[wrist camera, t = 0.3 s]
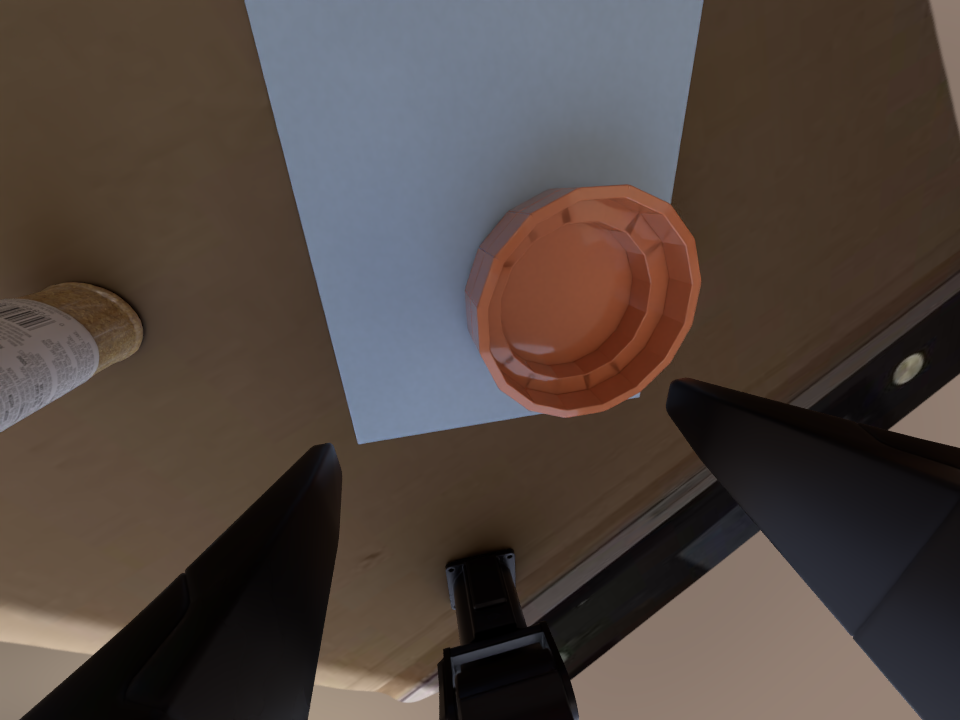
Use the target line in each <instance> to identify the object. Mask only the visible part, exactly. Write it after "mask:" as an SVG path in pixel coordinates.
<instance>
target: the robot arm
mask: <svg viewBox="0 0 960 720" xmlns="http://www.w3.org/2000/svg"><path fill="white" fill-rule="evenodd" d="M666 410H667V412H668V414H669V416H670V417H671V419H672V420H673V422H674V423H675V424H676V426H677V427H678V429H679V430H680V431H681V433H682V434H683V436H684V437H685V439H686V440H687V441H688V443H689V444H690V446H691V447H692V449H693V450H694V451H695V453H696V454H697V455H698V457H699V458H700V459H701V461H702V462H703V463H704V464H705V465H706V467H707V468H708V469H709V470H710V471H711V473H712V474H713V475H714V476H715V477H716V478H717V480H718V481H719V482H720V483H721V484H722V485H723V487H724V488H725V489H726V490H727V491H728V492H729V494H730V495H731V496H732V497H733V498H734V499H735V501H736V502H737V503H738V504H739V505H740V506H741V508H742V509H743V510H744V511H745V512H746V513H747V515H748V516H749V517H750V518H751V519H752V521H753V522H754V523H755V524H756V525H757V526H758V528H759V529H760V530H761V531H762V532H763V533H764V535H765V536H766V537H767V538H768V539H769V540H770V541H771V543H772V544H773V545H774V546H775V547H776V549H777V550H778V551H779V552H780V553H781V554H782V556H783V557H784V558H785V559H786V560H787V561H788V563H789V564H790V565H791V566H792V567H793V568H794V570H795V571H796V572H797V573H798V574H799V575H800V577H801V578H802V579H803V580H804V581H805V583H807V585H808V586H809V587H810V588H811V590H812V591H813V592H814V593H815V594H816V595H817V596H818V598H819V599H820V600H821V601H822V602H823V603H824V605H825V606H826V607H827V608H828V609H829V610H830V612H831V613H832V614H833V615H834V616H835V618H836V619H837V620H838V621H839V622H840V623H841V625H842V626H843V627H844V628H845V629H846V630H847V632H848V633H849V634H850V635H851V636H853V639H854V640H855V641H856V643H857V644H858V645H859V646H860V647H861V649H862V650H863V651H864V652H865V653H866V654H867V656H868V657H869V658H870V659H871V660H872V661H873V663H874V664H875V665H876V666H877V667H878V668H879V670H880V671H881V672H882V673H883V674H884V675H885V677H886V678H887V679H888V680H889V681H890V683H891V684H892V685H893V686H894V687H895V688H896V690H897V691H898V692H899V693H900V694H901V695H902V696H903V698H904V699H905V700H906V701H907V702H908V704H909V705H910V706H911V707H912V708H913V709H914V711H915V712H916V713H917V714H918V715H919V717H920V718H921V719H922V720H960V448H957V447H953V446H949V445H945V444H941V443H936V442H932V441H928V440H924V439H920V438H915V437H912V436H908V435H904V434H900V433H896V432H892V431H888V430H884V429H880V428H876V427H873V426H869V425H865V424H861V423H858V424H857V423H856V422H853V421H850V420H846V419H842V418H838V417H835V416H831V415H827V414H823V413H819V412H816V411H812V410H808V409H804V408H801V407H797V406H793V405H789V404H785V403H782V402H778V401H774V400H770V399H766V398H763V397H759V396H755V395H751V394H748V393H744V392H740V391H736V390H732V389H729V388H725V387H721V386H717V385H714V384H710V383H706V382H702V381H698V380H695V379H691V378H682V379H677V380H674V381H672V382H671V384H670V387H669V392H668V397H667V402H666ZM341 491H342V471H341V467H340V464H339V461H338V458H337V455H336V452H335V449H334V446H333V445H332V444H331V443H325V444H320V445H315V446H313V447H311V448H310V449H309V450H308V451H307V452H306V453H305V454H304V455H303V456H302V457H301V458H300V459H299V460H298V461H297V462H296V463H295V464H294V465H293V466H292V467H291V468H290V469H289V470H288V471H286V472H285V473H284V474H283V475H282V476H281V477H280V478H279V479H278V480H277V481H276V482H275V483H274V484H273V485H272V486H271V487H270V488H269V489H268V490H267V491H266V492H265V493H264V494H263V495H262V496H261V497H260V498H259V499H258V500H257V501H256V502H255V503H254V504H252V505H251V506H250V507H249V508H248V509H247V510H246V511H245V512H244V513H243V514H242V515H241V516H240V517H239V518H238V519H237V520H236V521H235V522H234V523H233V524H232V525H231V526H230V527H229V528H228V529H227V530H226V531H225V532H224V533H223V534H222V535H221V536H220V537H218V538H217V539H216V540H215V541H214V542H213V543H212V544H211V545H210V546H209V547H208V548H207V549H206V550H205V551H204V552H203V553H202V554H201V555H200V556H199V557H198V558H197V559H196V560H195V561H194V562H193V563H192V564H191V565H190V566H189V567H188V568H186V570H185V573H182V574H180V575H179V576H178V577H177V578H176V579H175V580H174V581H173V582H172V583H171V584H170V585H169V586H168V587H167V588H166V589H165V590H164V591H163V592H162V593H161V594H159V595H158V596H157V597H156V598H155V599H154V600H153V601H152V602H151V603H150V604H149V605H148V606H147V607H146V608H145V609H144V610H142V611H141V612H140V613H139V614H138V615H137V616H136V617H135V618H134V619H133V620H132V621H131V622H130V623H129V624H128V625H126V626H125V627H124V628H123V629H122V630H121V631H120V632H119V633H117V634H116V635H115V636H114V637H113V638H112V639H111V640H110V641H109V642H107V643H106V644H105V645H104V646H103V647H102V648H101V649H100V650H98V651H97V652H96V653H95V654H94V655H93V656H92V657H91V658H89V659H88V660H87V661H86V662H85V663H84V664H83V665H82V666H80V667H79V668H78V669H77V670H76V671H75V672H74V673H72V674H71V675H70V676H69V677H68V678H67V679H66V680H64V681H63V682H62V683H61V684H60V685H59V686H58V687H56V688H55V689H54V690H53V691H52V692H51V693H49V694H48V695H47V696H46V697H45V698H44V699H43V700H41V701H40V702H39V703H38V704H37V705H36V706H35V707H34V708H32V709H31V710H30V711H29V712H28V713H27V714H25V715H24V716H23V717H22V718H21V719H20V720H308V715H309V709H310V703H311V697H312V692H313V686H314V680H315V674H316V669H317V663H318V657H319V651H320V646H321V640H322V634H323V628H324V622H325V617H326V611H327V605H328V599H329V594H330V588H331V582H332V576H333V571H334V565H335V559H336V553H337V547H338V540H339V529H340V510H341ZM446 575H447V581H448V588H449V595H450V601H451V608H452V609H453V610H456V615H457V623H458V630H459V637H460V645H461V646H457V647H454V648H450V647H449V648H445V649H443V654H444V658H443V659H442V660H441V661H440V662H439V663H438V664H437V666H438V679H439V720H579V715H578V709H577V704H576V700H575V695H574V692H573V688H572V685H571V681H570V678H569V676H568V673H567V670H566V668H565V665H564V663H563V660H562V658H561V656H560V653H559V651H558V649H557V646H556V644H555V642H554V639H553V637H552V635H551V632H550V630H549V628H548V625H547V623H546V621H542V622H539V624H536V625H533V626H529V627H527V626H526V622H525V619H524V616H523V612H522V609H521V605H520V602H519V599H518V595H517V592H516V588H515V554H514V551H513V550H512V549H508V550H503V551H499V552H494V553H490V554H486V555H481V556H477V557H473V558H468V559H464V560H459V561H455V562H451V563H448V564H447V565H446Z"/></svg>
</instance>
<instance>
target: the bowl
mask: <svg viewBox="0 0 960 720" xmlns="http://www.w3.org/2000/svg"><path fill="white" fill-rule="evenodd" d="M700 286H701V275H700V269H699V263H698V256H697V250H696V243H695V239H694V237H693V236H692V234H691V233H690V231H689V230H688V228H687V227H686V226H685V224H684V223H683V221H682V220H681V218H680V217H679V216H678V214H677V213H676V211H675V210H674V208H673V207H672V206H671V204H669V203H668V202H666V201H664V200H662V199H659V198H657V197H655V196H653V195H651V194H649V193H647V192H645V191H642V190H640V189H638V188H636V187H634V186H632V185H628V184H623V185H605V186H587V187H571V188H555V189H547V190H546V191H544V192H542V193H540V194H538V195H536V196H534V197H533V198H531V199H529V200H527V201H525V202H523V203H522V204H520V205H518V206H516V207H514V208H512V209H510V210H509V211H508V212H507V213H506V214H505V215H504V216H503V218H502V219H501V220H500V221H499V223H498V224H497V225H496V226H495V227H494V229H493V230H492V231H491V232H490V234H489V235H488V236H487V237H486V238H485V240H484V241H483V242H482V243H481V245H480V246H479V248H478V250H477V253H476V256H475V259H474V262H473V265H472V268H471V271H470V275H469V278H468V281H467V284H466V287H465V303H466V316H467V329H468V332H469V333H470V335H471V337H472V339H473V341H474V343H475V345H476V347H477V349H478V351H479V353H480V355H481V357H482V359H483V361H484V363H485V364H486V366H487V368H488V370H489V372H490V374H491V376H492V377H493V379H494V381H495V383H496V385H497V387H498V388H499V390H501V391H502V392H504V393H505V394H506V395H508V396H509V397H511V398H512V399H513V400H515V401H516V402H518V403H519V404H520V405H522V406H523V407H525V408H526V409H527V410H530V411H534V412H539V413H544V414H549V415H554V416H559V417H564V418H565V417H566V418H568V417H574V416H580V415H585V414H591V413H597V412H603V411H606V410H608V409H609V408H611V407H613V406H615V405H617V404H619V403H621V402H623V401H625V400H627V399H628V398H630V397H632V396H634V395H636V394H638V393H640V392H641V391H642V390H643V389H644V388H645V387H646V386H647V385H648V384H649V383H650V382H651V381H652V380H653V379H654V378H655V377H656V376H657V375H658V374H659V373H660V372H661V371H662V370H663V369H664V368H666V367H667V366H668V365H669V364H670V362H671V361H672V359H673V358H674V356H675V354H676V352H677V351H678V349H679V347H680V345H681V344H682V342H683V340H684V338H685V337H686V335H687V333H688V331H689V330H690V328H691V326H692V324H693V319H694V314H695V310H696V305H697V300H698V296H699V291H700Z"/></svg>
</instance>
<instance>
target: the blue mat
mask: <svg viewBox="0 0 960 720" xmlns="http://www.w3.org/2000/svg"><path fill="white" fill-rule="evenodd" d="M244 1H245V5H246V9H247V12H248V16H249V20H250V24H251V28H252V32H253V36H254V40H255V44H256V48H257V51H258V55H259V59H260V63H261V67H262V71H263V75H264V79H265V83H266V87H267V91H268V94H269V98H270V102H271V106H272V110H273V114H274V118H275V122H276V126H277V130H278V133H279V137H280V141H281V145H282V149H283V153H284V157H285V161H286V165H287V169H288V172H289V176H290V180H291V184H292V188H293V192H294V196H295V200H296V204H297V208H298V212H299V215H300V219H301V223H302V227H303V231H304V235H305V239H306V243H307V247H308V251H309V254H310V258H311V262H312V266H313V270H314V274H315V278H316V282H317V286H318V290H319V294H320V297H321V301H322V305H323V309H324V313H325V317H326V321H327V325H328V329H329V333H330V336H331V340H332V344H333V348H334V352H335V356H336V360H337V364H338V368H339V372H340V376H341V379H342V383H343V387H344V391H345V395H346V399H347V403H348V407H349V411H350V415H351V418H352V422H353V426H354V430H355V434H356V438H357V442H358V444H363V443H369V442H375V441H381V440H387V439H393V438H399V437H405V436H411V435H417V434H423V433H429V432H435V431H441V430H447V429H453V428H458V427H464V426H470V425H476V424H482V423H488V422H494V421H500V420H506V419H512V418H518V417H524V416H530V415H536V414H542V413H539V412H534V411H530V410H527V409H526V408H525V407H523V406H522V405H520V404H519V403H518V402H516V401H515V400H513V399H512V398H511V397H509V396H508V395H506V394H505V393H504V392H502V391H501V390H499V388H498V387H497V385H496V383H495V381H494V379H493V377H492V376H491V374H490V372H489V370H488V368H487V366H486V364H485V363H484V361H483V359H482V357H481V355H480V353H479V351H478V349H477V347H476V345H475V343H474V341H473V339H472V337H471V335H470V333H469V332H468V329H467V316H466V303H465V287H466V284H467V281H468V278H469V275H470V271H471V268H472V265H473V262H474V259H475V256H476V253H477V250H478V248H479V246H480V245H481V243H482V242H483V241H484V240H485V238H486V237H487V236H488V235H489V234H490V232H491V231H492V230H493V229H494V227H495V226H496V225H497V224H498V223H499V221H500V220H501V219H502V218H503V216H504V215H505V214H506V213H507V212H508V211H509V210H510V209H512V208H514V207H516V206H518V205H520V204H522V203H523V202H525V201H527V200H529V199H531V198H533V197H534V196H536V195H538V194H540V193H542V192H544V191H546V190H547V189H555V188H571V187H587V186H605V185H623V184H628V185H632V186H634V187H636V188H638V189H640V190H642V191H645V192H647V193H649V194H651V195H653V196H655V197H657V198H659V199H662V200H664V201H666V202H668V203H669V204H671V198H672V192H673V185H674V179H675V173H676V167H677V161H678V155H679V148H680V142H681V136H682V130H683V124H684V118H685V111H686V105H687V99H688V93H689V87H690V80H691V74H692V68H693V62H694V56H695V50H696V43H697V37H698V31H699V25H700V19H701V13H702V6H703V0H244ZM639 395H640V393H638V394H636V395H634V396H632V397H630V398H628V399H631V398H637V397H639Z"/></svg>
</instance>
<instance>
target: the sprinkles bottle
mask: <svg viewBox="0 0 960 720" xmlns="http://www.w3.org/2000/svg"><path fill="white" fill-rule="evenodd" d="M142 339H143V327H142V323H141V320H140V319H139V317H138V315H137V314H136V312H135V311H134V310H133V309H132V308H131V307H130V305H129V304H128V303H126V302H125V301H124V300H123V299H122V298H120V297H119V296H117V295H116V294H114V293H112V292H110V291H108V290H106V289H104V288H101V287H97V286H94V285H92V284H87V283H77V282H66V283H61V284H58V285H52V286H49V287H47V288H46V289H44V290H43V291H40V292H37V293H33V294H29V295H26V296H23V297H19V298H14V299H3V300H0V432H2V431H3V430H5V429H7V428H8V427H10V426H12V425H13V424H15V423H17V422H18V421H20V420H22V419H23V418H25V417H27V416H28V415H30V414H32V413H34V412H35V411H37V410H39V409H40V408H42V407H44V406H46V405H47V404H49V403H51V402H52V401H54V400H56V399H57V398H59V397H61V396H62V395H64V394H66V393H67V392H69V391H71V390H72V389H74V388H76V387H77V386H79V385H81V384H82V383H84V382H86V381H87V380H88V379H89V378H90V377H92V376H93V375H95V374H97V373H98V372H100V371H101V370H103V369H105V368H107V367H108V366H110V365H112V364H114V363H117V362H120V361H122V360H124V359H126V358H128V357H130V356H131V355H132V354H133V353H135V352H136V351H137V350H138V349H139V347H140V344H141V342H142Z"/></svg>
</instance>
